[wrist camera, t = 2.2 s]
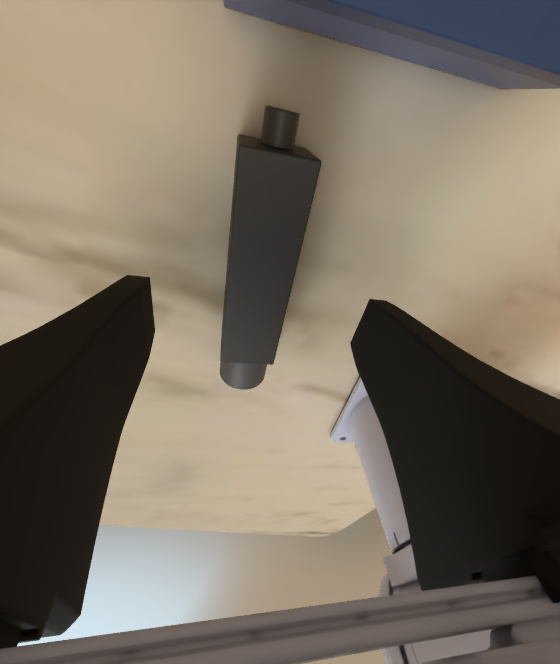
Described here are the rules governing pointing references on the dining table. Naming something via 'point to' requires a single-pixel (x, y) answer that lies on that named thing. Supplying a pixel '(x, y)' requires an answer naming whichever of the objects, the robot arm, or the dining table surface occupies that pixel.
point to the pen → (264, 244)
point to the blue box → (438, 33)
